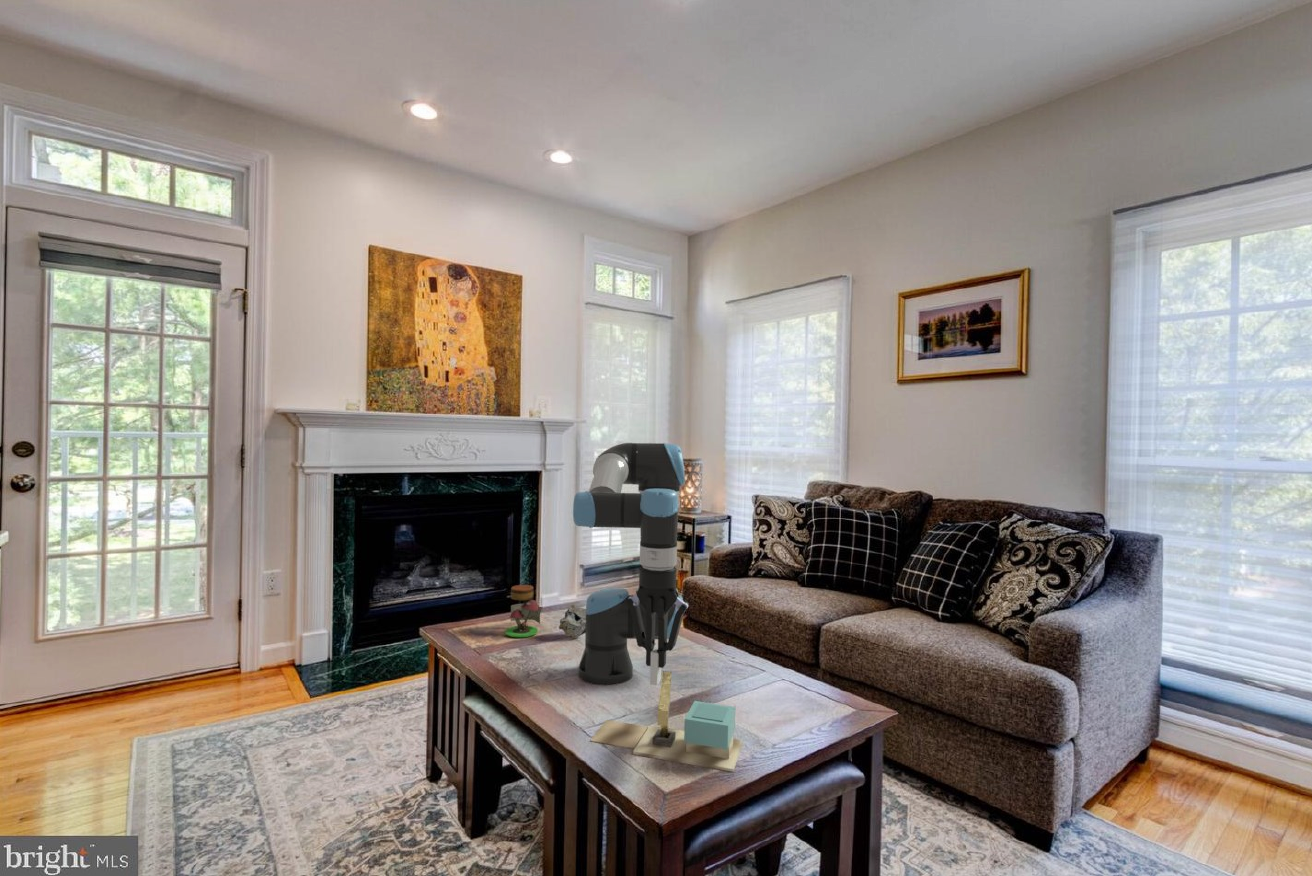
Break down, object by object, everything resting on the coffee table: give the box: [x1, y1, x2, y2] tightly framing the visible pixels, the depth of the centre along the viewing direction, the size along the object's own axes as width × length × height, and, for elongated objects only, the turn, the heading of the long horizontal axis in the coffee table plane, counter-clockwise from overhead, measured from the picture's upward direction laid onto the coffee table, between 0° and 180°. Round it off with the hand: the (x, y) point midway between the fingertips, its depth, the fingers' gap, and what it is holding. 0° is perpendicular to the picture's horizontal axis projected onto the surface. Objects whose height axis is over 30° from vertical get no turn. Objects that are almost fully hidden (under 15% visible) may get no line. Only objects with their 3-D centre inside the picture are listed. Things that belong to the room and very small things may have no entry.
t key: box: [657, 670, 672, 738], centre depth 131 cm, size 20×2×11 cm, turn 177°
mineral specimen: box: [558, 604, 586, 639], centre depth 198 cm, size 10×8×10 cm
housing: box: [632, 724, 743, 772], centre depth 129 cm, size 21×12×4 cm, turn 73°
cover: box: [683, 700, 736, 750], centre depth 128 cm, size 9×9×5 cm
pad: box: [589, 719, 649, 750], centre depth 135 cm, size 10×10×1 cm
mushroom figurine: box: [504, 584, 544, 638], centre depth 202 cm, size 12×13×15 cm
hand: (655, 681), depth 123 cm, fingers closed
